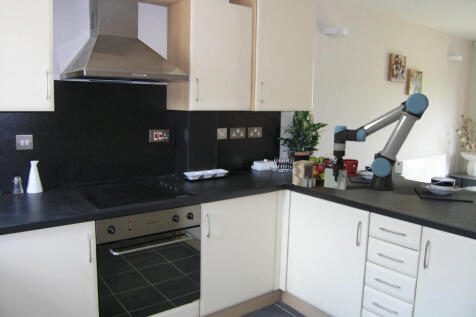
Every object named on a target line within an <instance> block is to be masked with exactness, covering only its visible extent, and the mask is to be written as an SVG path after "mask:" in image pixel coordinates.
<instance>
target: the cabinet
mask: <svg viewBox="0 0 476 317" xmlns="http://www.w3.org/2000/svg"><path fill="white" fill-rule="evenodd" d="M314 163H315V161H311V160H309V161H306V160H302V161H297V162H292V184H294V186H299V187H303V186H302V183H303V177H307V176H308V178H311V180H312V184H313V178H314V166H315V165H314ZM292 184H291V185H292Z"/></svg>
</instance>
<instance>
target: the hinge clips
mask: <svg viewBox="0 0 476 317" xmlns="http://www.w3.org/2000/svg"><path fill="white" fill-rule="evenodd" d="M316 180H317V179H316V178H314V177H313V183H312V180H311V178H308V176H307V177H303V183H302V186H301V187H303V188H304V187H305V188H307V187H308V188H312V187H316Z"/></svg>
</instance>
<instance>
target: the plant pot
mask: <svg viewBox="0 0 476 317" xmlns="http://www.w3.org/2000/svg"><path fill="white" fill-rule="evenodd" d="M343 159H344V167H343V170H345V171H347V177H354V176H357V174H358V173H357V171H358V167H359V159H355V158H354V159H353V158H343Z"/></svg>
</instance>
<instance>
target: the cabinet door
mask: <svg viewBox="0 0 476 317" xmlns="http://www.w3.org/2000/svg"><path fill="white" fill-rule="evenodd" d="M338 176H339V183H338V187H337V186H334V176H333V168H330V167H329V168H327V167H326V168H324V178H323V179H324V181H323V184H324V185H323V187H324V188H330V189H338V190H343V191H345V190H347V183H348V181H347V179H348V176H347V171H345V170H339V174H338Z"/></svg>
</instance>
